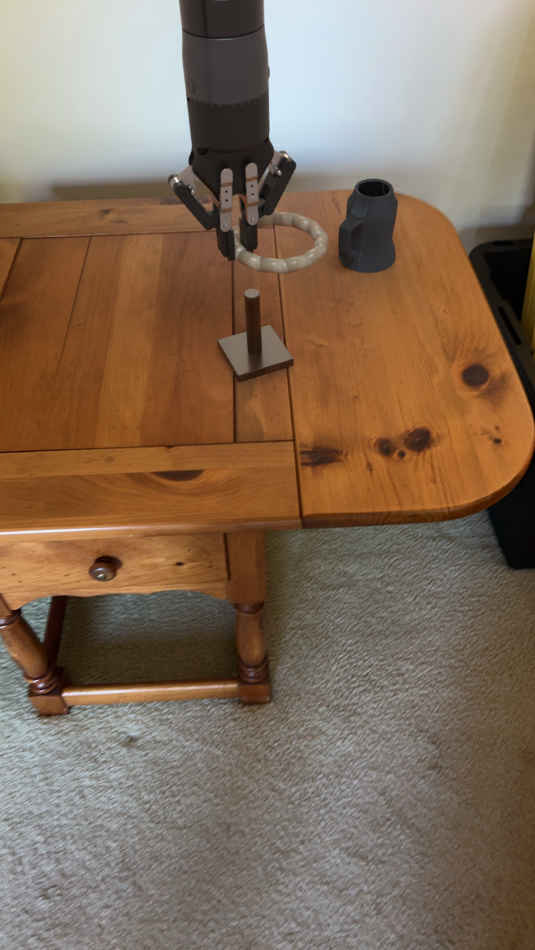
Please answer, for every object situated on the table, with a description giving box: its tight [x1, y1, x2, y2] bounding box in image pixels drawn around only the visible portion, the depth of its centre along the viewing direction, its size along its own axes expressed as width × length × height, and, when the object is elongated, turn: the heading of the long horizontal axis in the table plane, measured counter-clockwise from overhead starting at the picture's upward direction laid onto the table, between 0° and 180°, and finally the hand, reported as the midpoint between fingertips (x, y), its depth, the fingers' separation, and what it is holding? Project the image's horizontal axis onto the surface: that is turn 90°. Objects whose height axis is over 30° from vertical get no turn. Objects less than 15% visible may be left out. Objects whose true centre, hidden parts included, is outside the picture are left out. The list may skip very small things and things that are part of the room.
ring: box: [232, 211, 329, 275], centre depth 73 cm, size 11×11×2 cm
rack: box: [216, 288, 295, 383], centre depth 86 cm, size 8×8×10 cm
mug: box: [337, 177, 399, 274], centre depth 100 cm, size 12×9×11 cm
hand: (238, 254), depth 72 cm, fingers closed on ring, 1 cm apart
